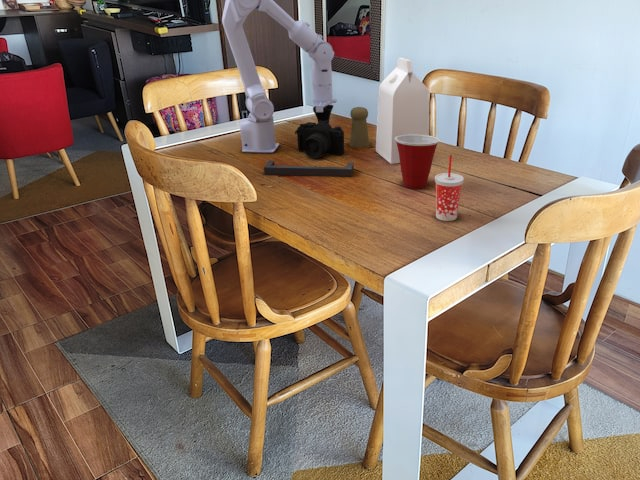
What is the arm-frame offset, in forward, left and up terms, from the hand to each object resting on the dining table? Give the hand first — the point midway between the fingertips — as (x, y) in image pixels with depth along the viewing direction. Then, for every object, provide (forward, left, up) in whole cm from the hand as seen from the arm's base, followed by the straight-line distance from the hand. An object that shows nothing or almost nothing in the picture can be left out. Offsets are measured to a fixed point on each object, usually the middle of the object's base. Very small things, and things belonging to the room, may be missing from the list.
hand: (324, 130), depth 173 cm
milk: (+24, -12, -4) cm, 27 cm away
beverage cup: (+35, -54, -4) cm, 64 cm away
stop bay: (0, -27, -3) cm, 27 cm away
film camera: (0, -13, -4) cm, 13 cm away
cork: (+11, -3, -4) cm, 12 cm away
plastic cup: (+28, -35, -4) cm, 45 cm away
